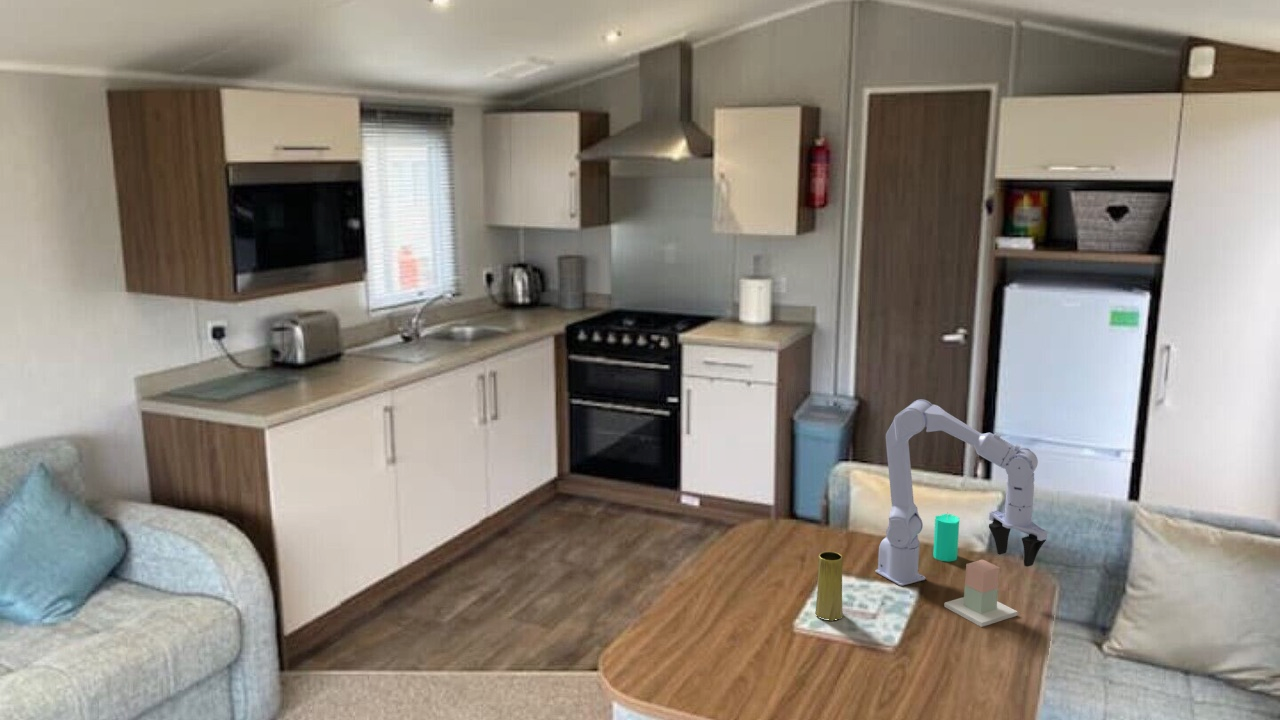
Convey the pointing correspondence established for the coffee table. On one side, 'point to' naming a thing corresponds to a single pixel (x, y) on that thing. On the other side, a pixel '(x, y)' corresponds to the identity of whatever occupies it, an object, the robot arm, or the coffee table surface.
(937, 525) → the candle
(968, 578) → the brick top
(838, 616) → the vase
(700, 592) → the coffee table surface
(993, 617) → the base plate
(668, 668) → the coffee table surface
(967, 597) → the brick bottom
